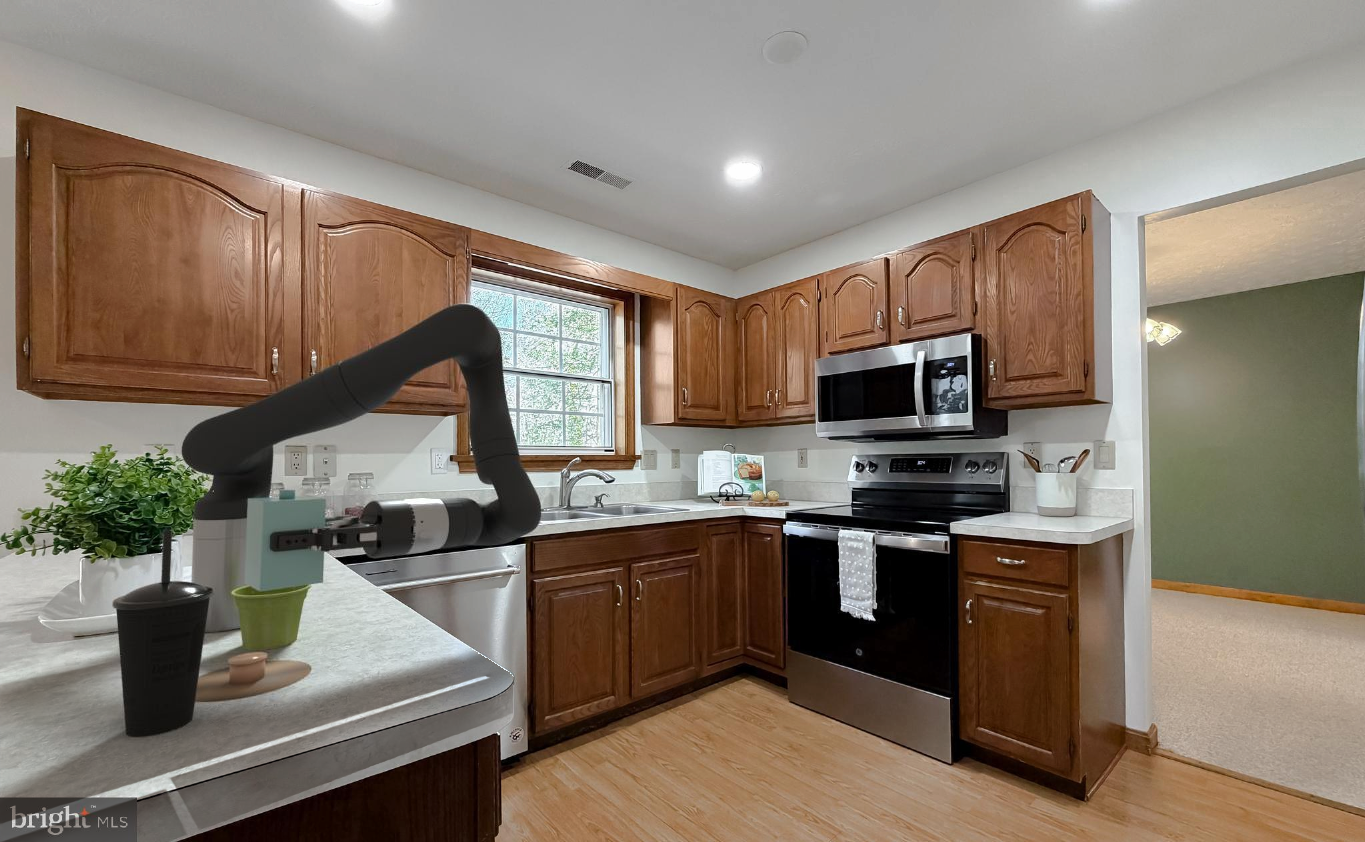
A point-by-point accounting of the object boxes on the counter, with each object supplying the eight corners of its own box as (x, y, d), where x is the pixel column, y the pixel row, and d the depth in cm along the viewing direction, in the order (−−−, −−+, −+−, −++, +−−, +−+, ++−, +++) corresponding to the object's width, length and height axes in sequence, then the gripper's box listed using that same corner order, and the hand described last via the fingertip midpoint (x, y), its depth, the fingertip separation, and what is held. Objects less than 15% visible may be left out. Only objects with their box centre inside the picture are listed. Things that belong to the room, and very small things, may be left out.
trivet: (165, 689, 71) (165, 680, 71) (291, 660, 81) (292, 653, 81) (188, 722, 63) (189, 712, 63) (327, 685, 72) (327, 676, 72)
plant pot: (324, 640, 90) (326, 581, 90) (276, 662, 80) (278, 596, 81) (265, 638, 91) (267, 580, 91) (211, 660, 81) (213, 594, 82)
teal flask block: (244, 583, 72) (248, 490, 73) (305, 575, 77) (308, 487, 78) (259, 591, 68) (263, 492, 69) (323, 582, 73) (326, 490, 73)
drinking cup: (197, 711, 65) (204, 523, 66) (218, 732, 60) (225, 529, 61) (99, 737, 59) (108, 531, 60) (113, 763, 54) (123, 538, 55)
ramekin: (223, 679, 72) (224, 657, 72) (261, 670, 75) (262, 650, 75) (231, 687, 69) (232, 665, 69) (270, 678, 72) (271, 656, 72)
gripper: (384, 496, 88) (246, 503, 76) (431, 502, 79) (282, 511, 66) (382, 548, 88) (243, 563, 76) (429, 560, 79) (279, 580, 66)
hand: (262, 539), depth 71 cm, fingers closed on teal flask block, 6 cm apart
